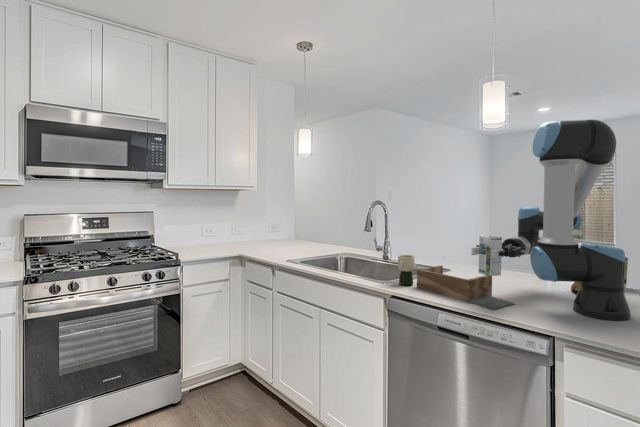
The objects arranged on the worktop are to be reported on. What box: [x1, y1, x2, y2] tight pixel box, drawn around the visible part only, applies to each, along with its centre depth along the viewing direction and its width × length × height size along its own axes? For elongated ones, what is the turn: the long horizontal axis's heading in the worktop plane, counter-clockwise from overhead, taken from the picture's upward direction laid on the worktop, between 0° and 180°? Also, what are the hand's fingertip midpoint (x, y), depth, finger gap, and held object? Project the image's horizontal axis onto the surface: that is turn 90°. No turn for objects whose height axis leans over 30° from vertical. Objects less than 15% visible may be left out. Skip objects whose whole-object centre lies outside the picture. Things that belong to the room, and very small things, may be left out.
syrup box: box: [477, 234, 503, 277], centre depth 132 cm, size 6×6×14 cm
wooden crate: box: [416, 265, 493, 302], centre depth 148 cm, size 16×25×8 cm, turn 34°
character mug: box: [397, 254, 415, 286], centre depth 160 cm, size 11×7×13 cm, turn 140°
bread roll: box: [570, 282, 580, 295], centre depth 143 cm, size 10×10×8 cm
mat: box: [465, 295, 515, 311], centre depth 132 cm, size 12×12×1 cm
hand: (482, 253), depth 129 cm, fingers closed on syrup box, 7 cm apart
